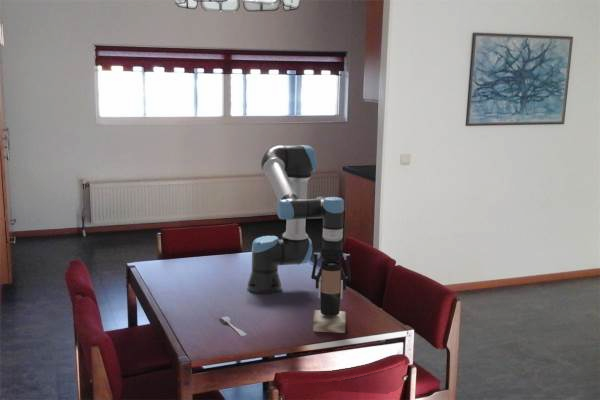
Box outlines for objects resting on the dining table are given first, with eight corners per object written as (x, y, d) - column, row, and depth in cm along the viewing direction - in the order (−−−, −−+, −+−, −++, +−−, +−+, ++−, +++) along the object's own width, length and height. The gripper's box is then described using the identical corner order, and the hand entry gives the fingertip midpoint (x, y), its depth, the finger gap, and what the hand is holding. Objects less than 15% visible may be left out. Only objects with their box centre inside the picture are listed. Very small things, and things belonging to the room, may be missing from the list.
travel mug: (338, 309, 246) (340, 259, 242) (341, 316, 238) (343, 265, 235) (318, 309, 245) (320, 259, 242) (321, 316, 238) (322, 265, 234)
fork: (240, 343, 231) (241, 336, 231) (216, 319, 248) (216, 312, 247) (247, 341, 233) (248, 334, 232) (222, 317, 249) (223, 311, 249)
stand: (313, 331, 237) (313, 321, 237) (314, 319, 249) (314, 309, 248) (345, 332, 237) (345, 322, 236) (345, 321, 248) (345, 311, 248)
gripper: (304, 240, 233) (302, 299, 238) (360, 242, 232) (357, 301, 236) (305, 235, 241) (304, 292, 245) (359, 237, 240) (357, 295, 244)
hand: (330, 297), depth 241 cm, fingers closed on travel mug, 8 cm apart
